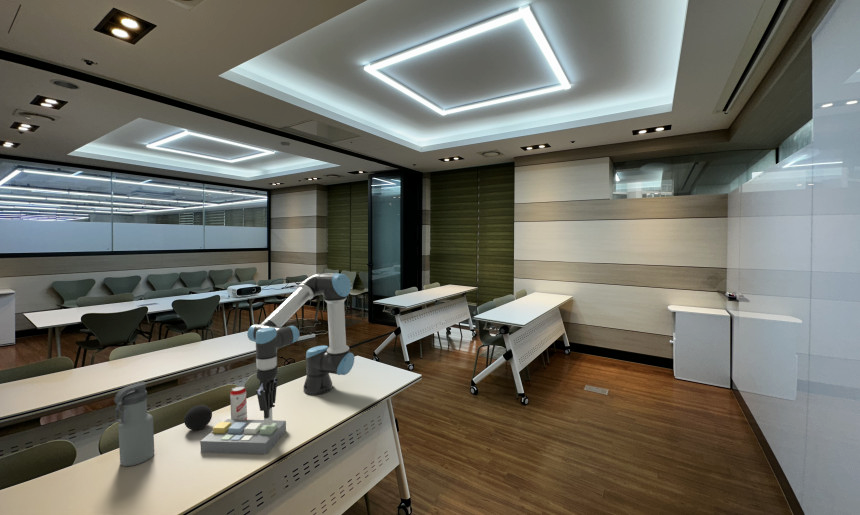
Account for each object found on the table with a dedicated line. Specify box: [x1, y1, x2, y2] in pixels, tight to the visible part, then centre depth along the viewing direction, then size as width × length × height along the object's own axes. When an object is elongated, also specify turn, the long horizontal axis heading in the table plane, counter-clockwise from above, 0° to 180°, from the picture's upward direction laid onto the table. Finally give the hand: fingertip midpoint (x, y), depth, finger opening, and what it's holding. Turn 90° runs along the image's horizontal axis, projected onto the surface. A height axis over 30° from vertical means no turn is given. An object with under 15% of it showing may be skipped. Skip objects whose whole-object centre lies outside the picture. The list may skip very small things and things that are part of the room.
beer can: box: [229, 385, 248, 420], centre depth 151 cm, size 6×6×16 cm
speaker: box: [183, 404, 213, 431], centre depth 147 cm, size 10×10×10 cm
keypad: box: [199, 418, 287, 455], centre depth 138 cm, size 16×26×5 cm, turn 87°
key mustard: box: [212, 421, 231, 434], centre depth 138 cm, size 5×5×2 cm
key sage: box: [260, 423, 277, 435], centre depth 137 cm, size 5×5×2 cm
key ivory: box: [244, 423, 262, 435], centre depth 137 cm, size 5×5×2 cm
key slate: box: [228, 422, 246, 434], centre depth 138 cm, size 5×5×2 cm
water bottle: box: [114, 381, 155, 467], centre depth 126 cm, size 10×10×28 cm
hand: (268, 424), depth 137 cm, fingers closed
